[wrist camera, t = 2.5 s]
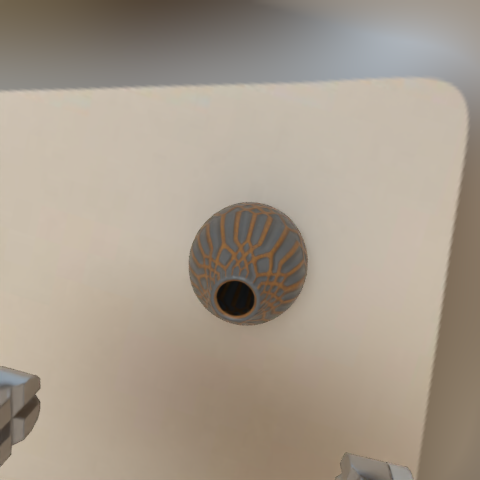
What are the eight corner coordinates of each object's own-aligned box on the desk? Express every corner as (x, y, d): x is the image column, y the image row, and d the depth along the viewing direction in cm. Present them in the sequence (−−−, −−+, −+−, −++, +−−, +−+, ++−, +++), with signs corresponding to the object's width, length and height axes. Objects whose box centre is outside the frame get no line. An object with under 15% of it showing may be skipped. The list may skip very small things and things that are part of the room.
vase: (207, 189, 25) (163, 219, 17) (311, 199, 24) (320, 236, 16) (203, 284, 27) (162, 353, 19) (299, 296, 26) (301, 374, 18)
